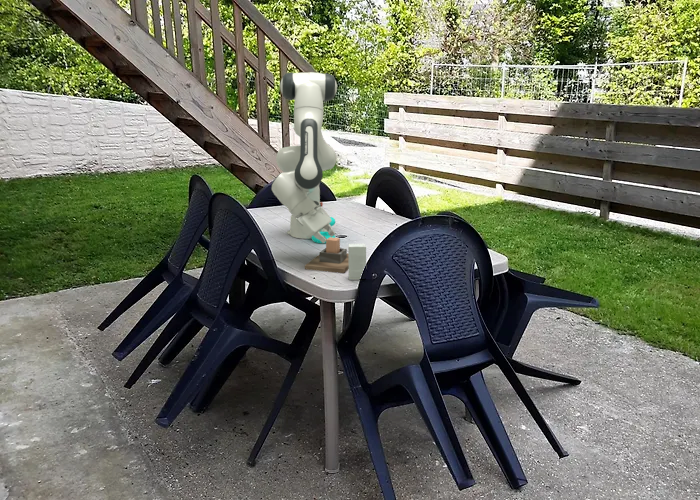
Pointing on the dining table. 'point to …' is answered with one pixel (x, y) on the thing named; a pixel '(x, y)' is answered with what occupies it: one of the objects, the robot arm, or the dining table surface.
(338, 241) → the terracotta peg
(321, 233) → the donuts
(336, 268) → the sleeve stand
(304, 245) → the dining table surface
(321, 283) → the dining table surface
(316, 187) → the robot arm
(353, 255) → the skincare box
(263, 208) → the dining table surface
